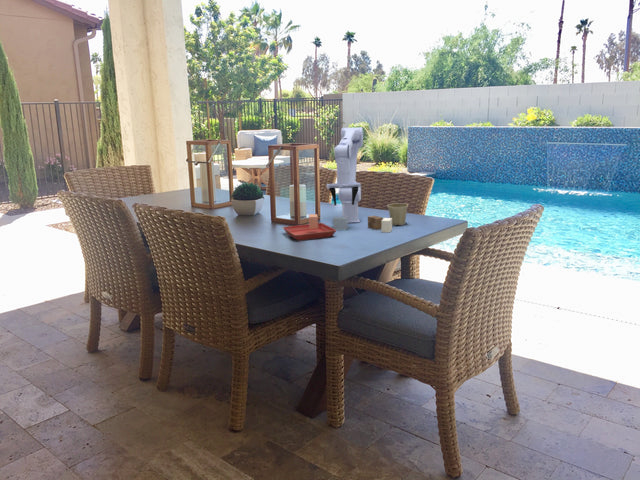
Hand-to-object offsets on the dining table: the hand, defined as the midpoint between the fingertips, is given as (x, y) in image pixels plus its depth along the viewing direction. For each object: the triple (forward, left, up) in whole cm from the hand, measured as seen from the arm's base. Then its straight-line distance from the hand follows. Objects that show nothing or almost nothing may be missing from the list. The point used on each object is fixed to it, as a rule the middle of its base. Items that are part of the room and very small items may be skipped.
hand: (344, 204), depth 228 cm
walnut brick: (+3, +13, -11) cm, 17 cm away
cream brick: (+9, +17, -11) cm, 22 cm away
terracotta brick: (+8, -14, -8) cm, 18 cm away
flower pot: (-3, +24, -11) cm, 27 cm away
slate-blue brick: (+1, -2, -11) cm, 11 cm away
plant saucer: (+10, -16, -11) cm, 22 cm away
